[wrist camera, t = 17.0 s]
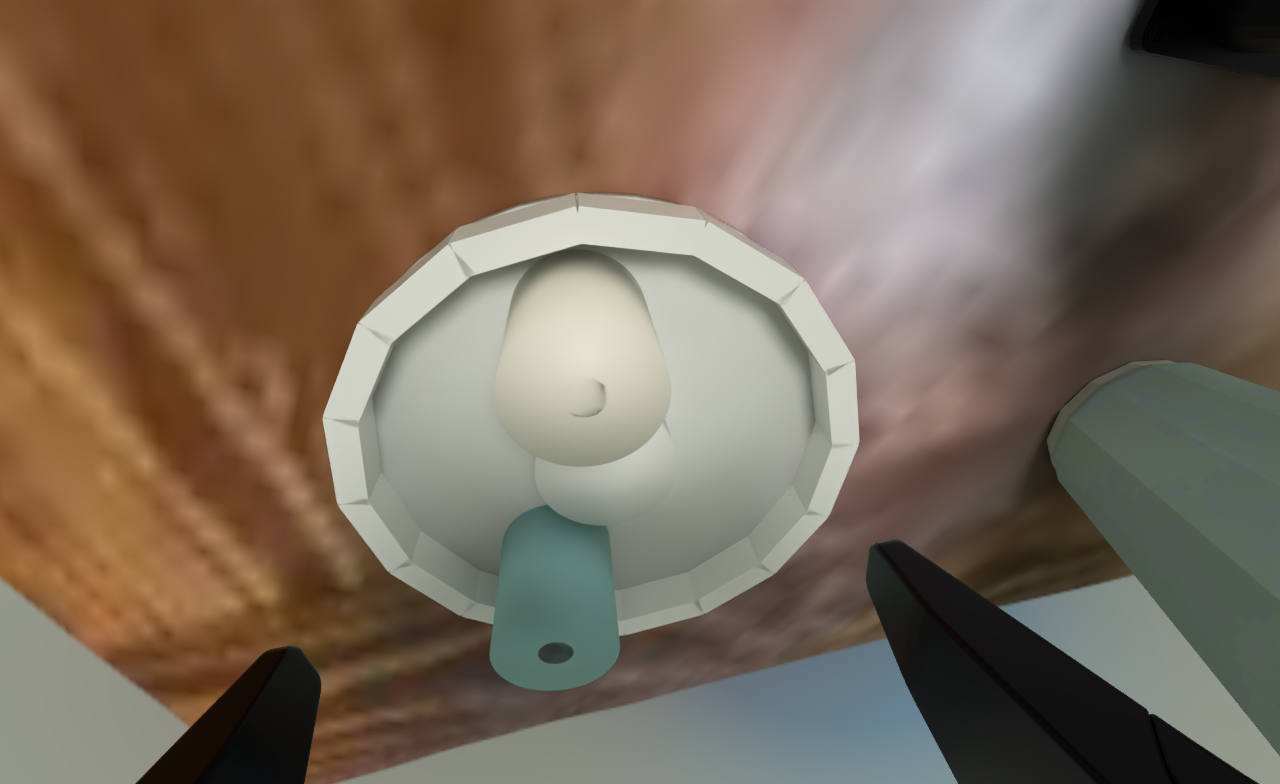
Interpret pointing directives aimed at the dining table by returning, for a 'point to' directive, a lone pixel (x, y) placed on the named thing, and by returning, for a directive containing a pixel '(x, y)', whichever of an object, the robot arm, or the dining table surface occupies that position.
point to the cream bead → (580, 362)
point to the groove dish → (629, 487)
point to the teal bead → (554, 603)
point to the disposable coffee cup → (1189, 508)
